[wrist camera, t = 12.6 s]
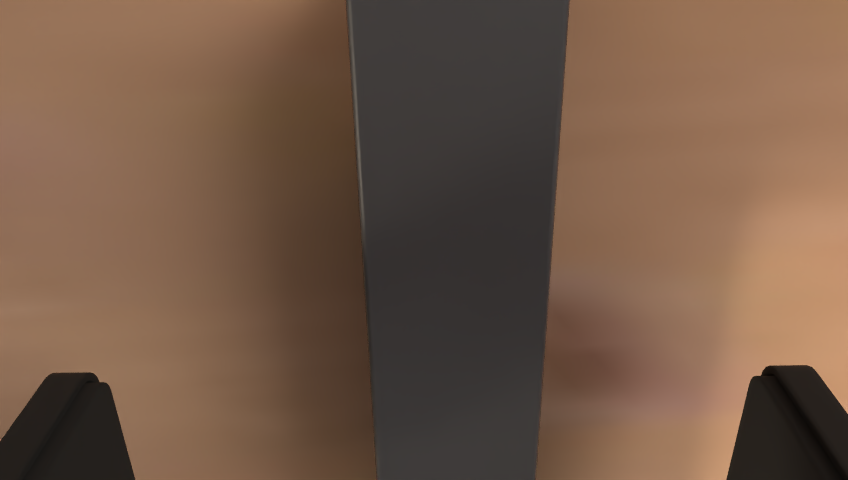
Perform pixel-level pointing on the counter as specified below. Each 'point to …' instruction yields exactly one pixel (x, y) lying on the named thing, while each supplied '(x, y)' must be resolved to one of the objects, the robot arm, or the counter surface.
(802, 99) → the counter surface
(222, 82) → the counter surface
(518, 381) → the marker
